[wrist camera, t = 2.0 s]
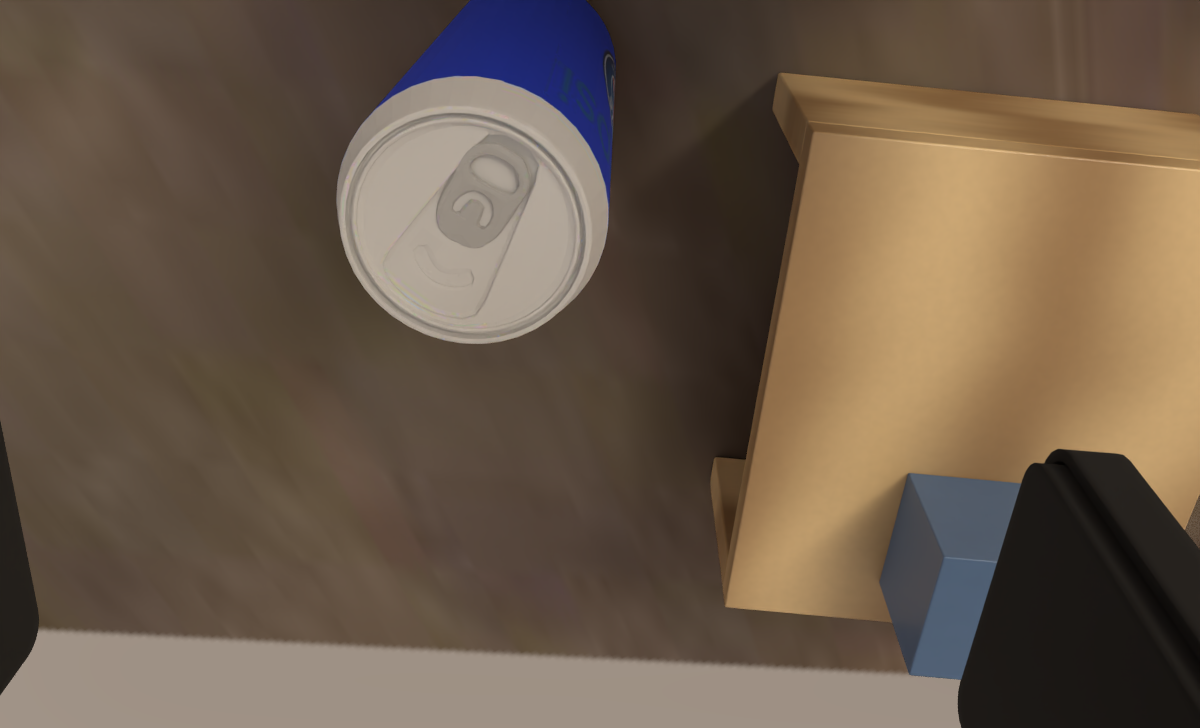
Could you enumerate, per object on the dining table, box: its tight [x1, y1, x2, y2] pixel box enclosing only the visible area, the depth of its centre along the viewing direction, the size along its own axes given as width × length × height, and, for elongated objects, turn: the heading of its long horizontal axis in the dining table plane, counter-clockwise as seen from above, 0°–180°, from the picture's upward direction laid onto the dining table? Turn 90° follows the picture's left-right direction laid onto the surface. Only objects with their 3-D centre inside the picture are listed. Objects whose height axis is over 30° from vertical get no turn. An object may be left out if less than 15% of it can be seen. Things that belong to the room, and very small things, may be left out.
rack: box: [710, 73, 1200, 622], centre depth 33 cm, size 13×15×7 cm
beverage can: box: [336, 0, 616, 344], centre depth 26 cm, size 5×5×15 cm
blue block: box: [879, 473, 1021, 680], centre depth 30 cm, size 4×4×4 cm
